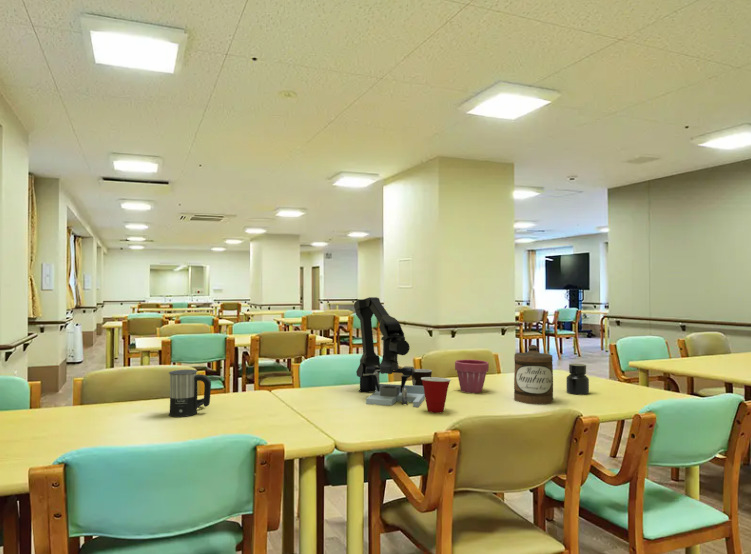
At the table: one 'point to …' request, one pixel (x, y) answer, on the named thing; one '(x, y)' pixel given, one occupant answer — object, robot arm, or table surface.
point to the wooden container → (533, 377)
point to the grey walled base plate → (413, 395)
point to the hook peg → (404, 395)
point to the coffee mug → (420, 376)
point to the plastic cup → (435, 393)
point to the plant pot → (471, 374)
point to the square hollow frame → (390, 390)
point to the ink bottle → (577, 379)
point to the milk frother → (187, 392)
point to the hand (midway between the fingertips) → (389, 392)
